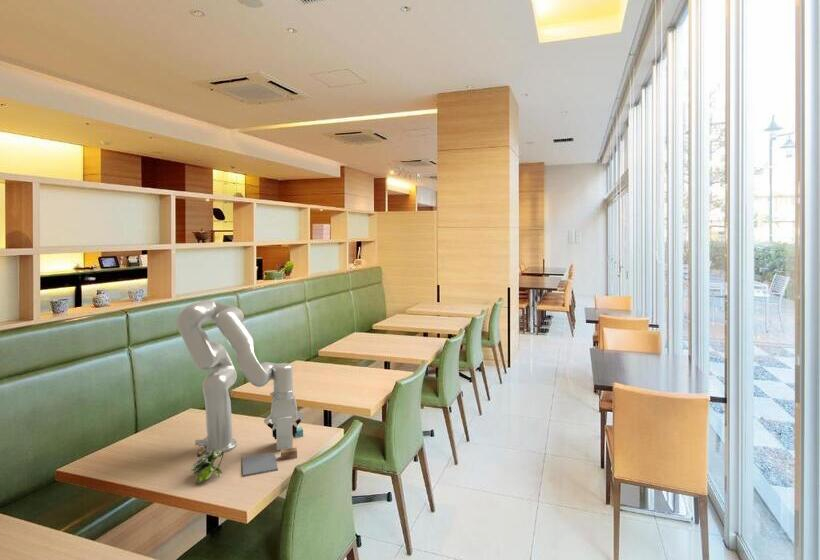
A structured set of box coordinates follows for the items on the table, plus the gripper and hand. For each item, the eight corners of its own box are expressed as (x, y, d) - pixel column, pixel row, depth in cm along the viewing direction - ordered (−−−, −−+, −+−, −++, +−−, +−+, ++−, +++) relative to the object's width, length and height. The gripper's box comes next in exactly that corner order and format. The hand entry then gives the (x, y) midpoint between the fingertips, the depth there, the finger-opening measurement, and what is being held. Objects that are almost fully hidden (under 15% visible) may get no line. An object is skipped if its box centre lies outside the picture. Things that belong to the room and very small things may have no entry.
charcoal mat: (243, 476, 168) (243, 474, 168) (242, 459, 181) (242, 457, 181) (277, 470, 172) (277, 468, 172) (274, 453, 185) (274, 452, 185)
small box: (292, 448, 189) (291, 417, 188) (276, 450, 188) (275, 418, 187) (293, 440, 197) (292, 410, 196) (277, 441, 196) (276, 411, 194)
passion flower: (203, 487, 171) (210, 453, 177) (229, 485, 168) (234, 450, 174) (181, 483, 162) (189, 447, 168) (208, 481, 159) (215, 444, 165)
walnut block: (281, 460, 180) (280, 453, 180) (280, 457, 183) (280, 449, 182) (297, 458, 182) (296, 450, 181) (296, 454, 184) (296, 447, 184)
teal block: (288, 439, 199) (288, 432, 199) (288, 436, 202) (287, 429, 202) (303, 436, 201) (303, 429, 201) (302, 434, 204) (302, 427, 204)
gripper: (261, 399, 184) (263, 444, 185) (306, 394, 190) (307, 437, 192) (260, 394, 191) (262, 436, 192) (303, 388, 197) (305, 430, 199)
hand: (284, 436), depth 192 cm, fingers closed on small box, 6 cm apart
